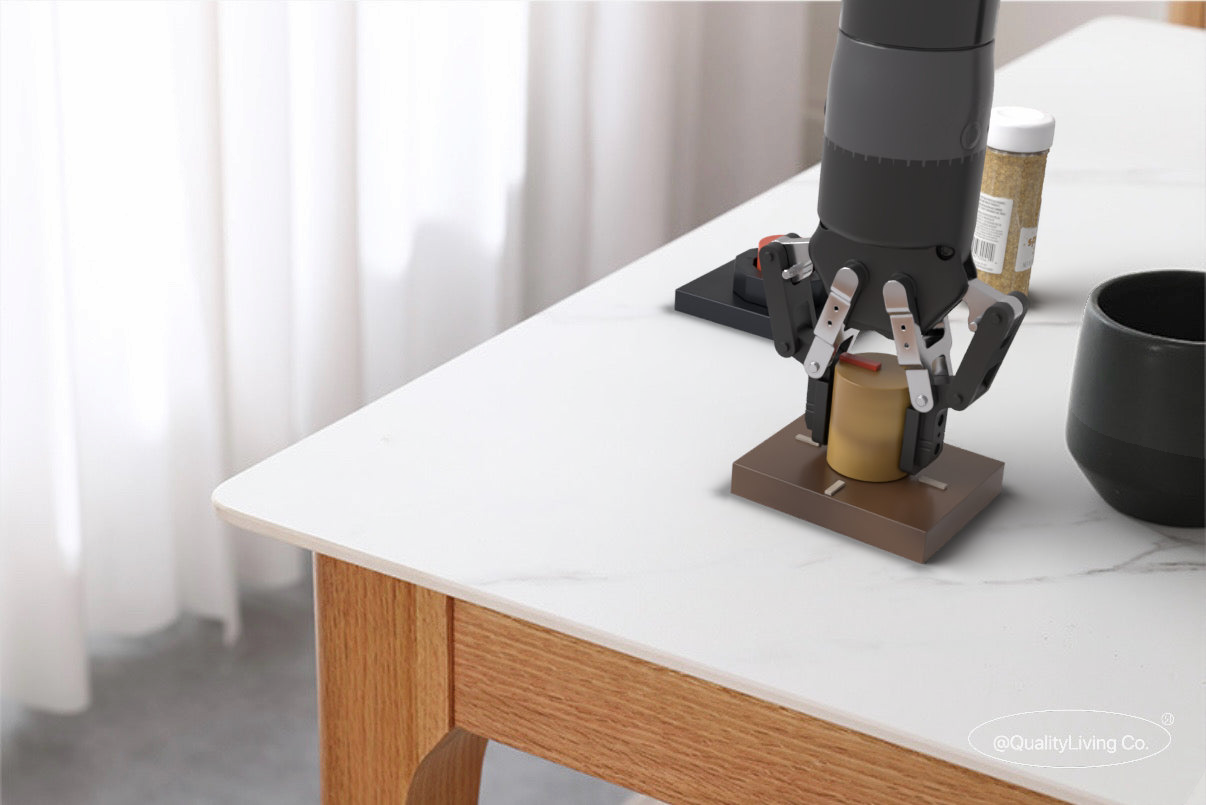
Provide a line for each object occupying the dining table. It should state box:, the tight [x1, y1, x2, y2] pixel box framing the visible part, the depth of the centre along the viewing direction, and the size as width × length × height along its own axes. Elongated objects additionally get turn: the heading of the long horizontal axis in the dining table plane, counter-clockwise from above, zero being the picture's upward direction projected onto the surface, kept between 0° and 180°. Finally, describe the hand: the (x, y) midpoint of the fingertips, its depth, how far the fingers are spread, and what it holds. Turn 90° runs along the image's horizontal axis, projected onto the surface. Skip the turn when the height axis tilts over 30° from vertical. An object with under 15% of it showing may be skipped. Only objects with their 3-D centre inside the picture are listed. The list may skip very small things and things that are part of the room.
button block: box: [674, 247, 829, 342], centre depth 102 cm, size 11×9×4 cm
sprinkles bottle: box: [972, 105, 1056, 298], centre depth 103 cm, size 5×5×13 cm
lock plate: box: [730, 412, 1006, 565], centre depth 81 cm, size 11×9×3 cm
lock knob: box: [827, 351, 912, 482], centre depth 79 cm, size 4×4×6 cm
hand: (869, 451), depth 80 cm, fingers closed on lock knob, 4 cm apart
